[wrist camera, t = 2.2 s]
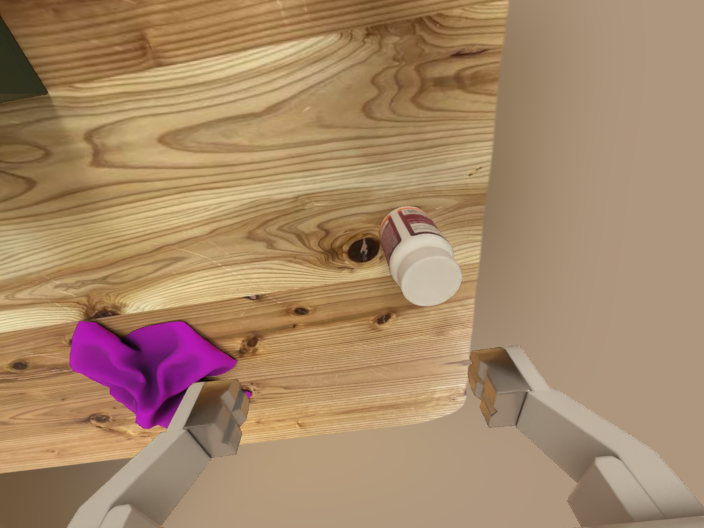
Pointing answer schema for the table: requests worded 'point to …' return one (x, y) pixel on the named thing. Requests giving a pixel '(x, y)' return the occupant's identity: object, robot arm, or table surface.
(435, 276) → the pill bottle
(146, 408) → the cloth
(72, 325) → the table surface
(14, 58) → the bin
